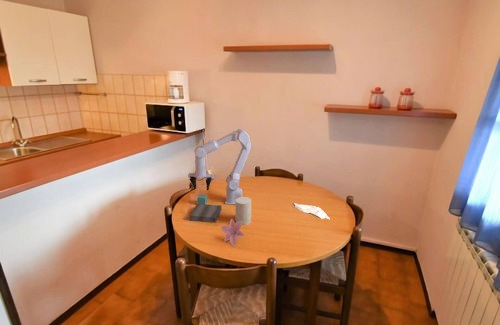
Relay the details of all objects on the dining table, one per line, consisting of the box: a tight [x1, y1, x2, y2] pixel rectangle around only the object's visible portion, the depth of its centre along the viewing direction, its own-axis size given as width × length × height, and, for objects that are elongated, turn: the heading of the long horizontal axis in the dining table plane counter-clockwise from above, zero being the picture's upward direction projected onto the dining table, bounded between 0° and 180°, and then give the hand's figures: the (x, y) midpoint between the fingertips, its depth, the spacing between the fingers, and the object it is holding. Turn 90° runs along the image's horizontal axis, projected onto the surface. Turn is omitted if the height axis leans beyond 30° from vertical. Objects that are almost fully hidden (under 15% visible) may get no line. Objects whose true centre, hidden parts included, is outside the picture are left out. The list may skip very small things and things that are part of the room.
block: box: [196, 194, 208, 205], centre depth 163 cm, size 4×4×5 cm
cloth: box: [291, 202, 331, 220], centre depth 158 cm, size 26×14×2 cm, turn 32°
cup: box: [235, 196, 252, 226], centre depth 144 cm, size 8×8×12 cm
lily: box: [220, 218, 245, 248], centre depth 128 cm, size 12×12×10 cm
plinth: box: [188, 203, 223, 224], centre depth 150 cm, size 14×14×3 cm
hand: (201, 189), depth 161 cm, fingers open, 7 cm apart
